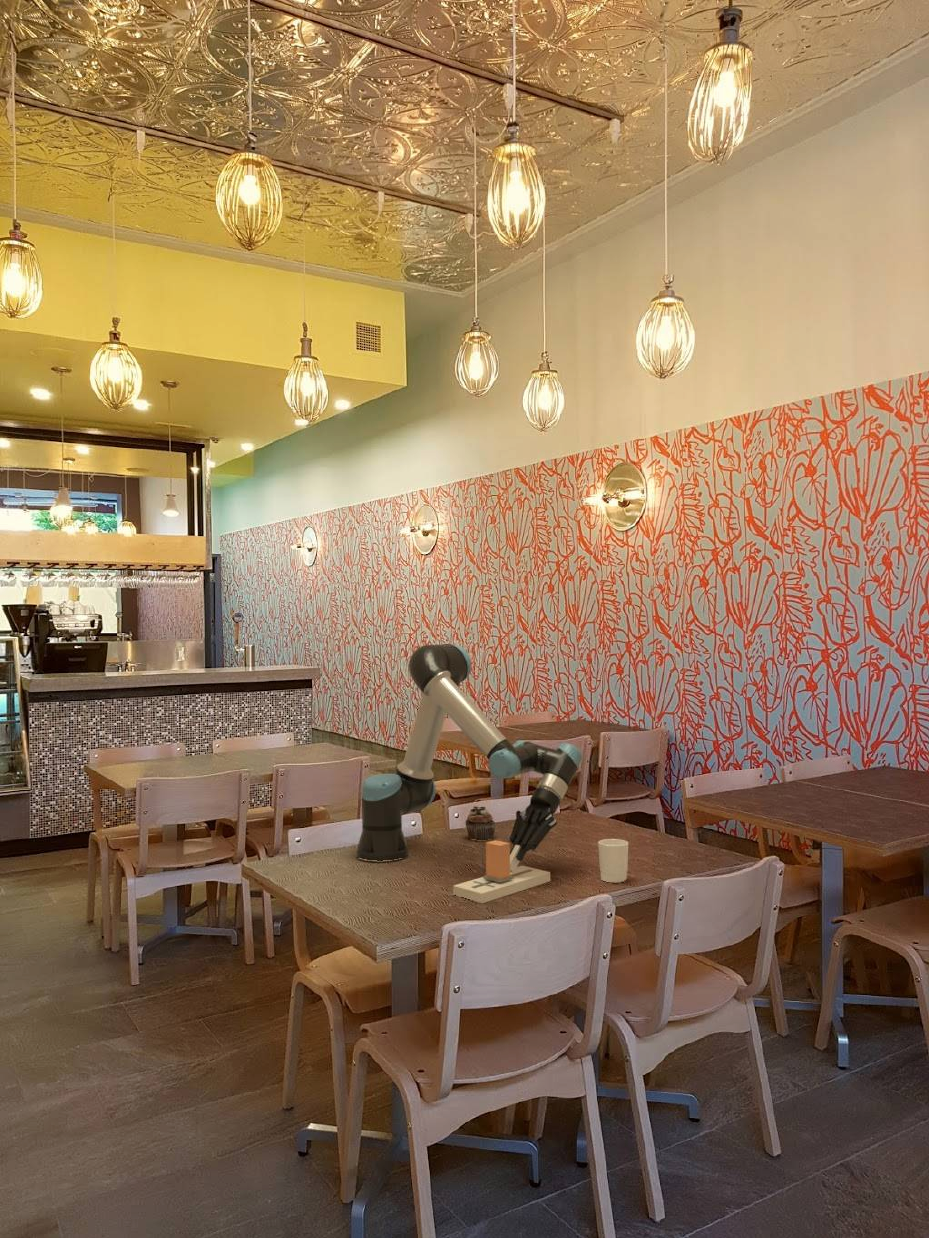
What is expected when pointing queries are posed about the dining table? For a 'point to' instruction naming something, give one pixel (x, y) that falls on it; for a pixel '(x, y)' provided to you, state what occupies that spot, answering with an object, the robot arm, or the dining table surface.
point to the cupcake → (480, 824)
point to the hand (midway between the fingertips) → (509, 869)
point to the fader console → (501, 885)
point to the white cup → (613, 859)
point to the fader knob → (498, 861)
